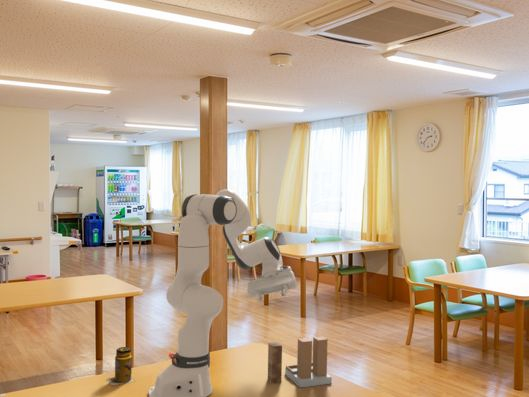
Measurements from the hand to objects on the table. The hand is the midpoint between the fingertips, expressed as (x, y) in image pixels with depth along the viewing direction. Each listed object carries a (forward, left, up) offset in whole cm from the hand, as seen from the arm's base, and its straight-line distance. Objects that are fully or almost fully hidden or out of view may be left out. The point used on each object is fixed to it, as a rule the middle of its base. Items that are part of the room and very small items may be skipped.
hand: (271, 297), depth 198 cm
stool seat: (+12, -9, -31) cm, 34 cm away
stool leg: (-1, -6, -31) cm, 31 cm away
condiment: (-56, +13, -31) cm, 65 cm away
